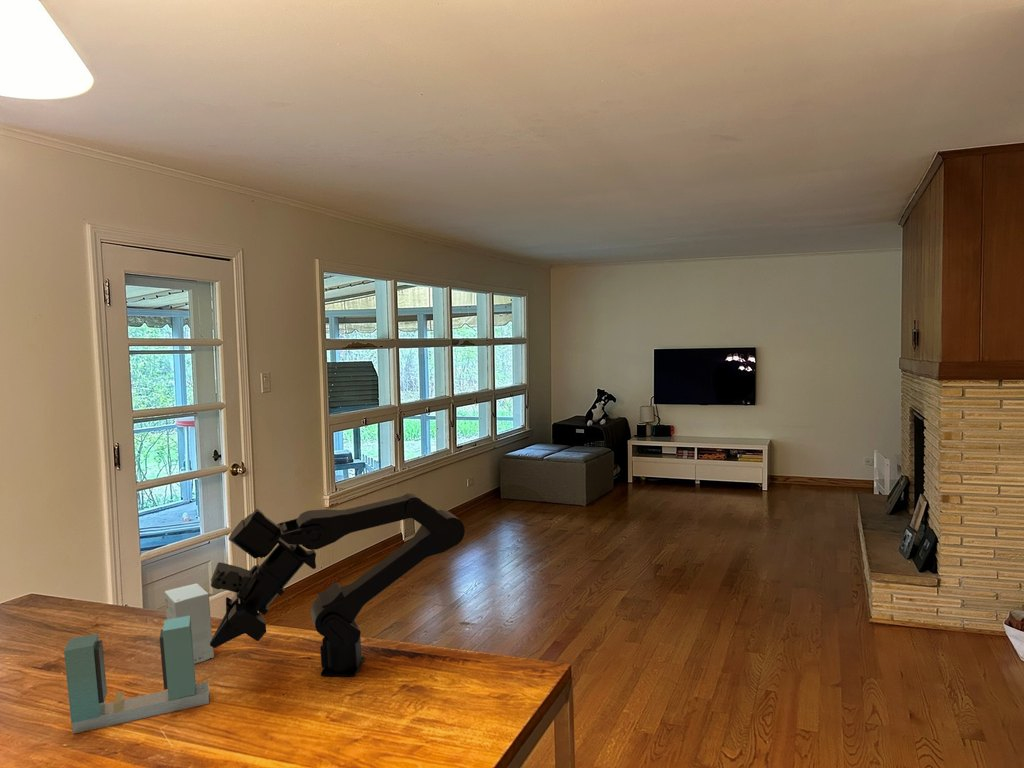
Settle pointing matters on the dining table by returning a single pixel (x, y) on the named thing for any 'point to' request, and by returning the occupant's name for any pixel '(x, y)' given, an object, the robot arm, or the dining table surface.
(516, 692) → the dining table surface
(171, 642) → the tall teal pillar
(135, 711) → the rail
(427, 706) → the dining table surface
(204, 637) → the small box
